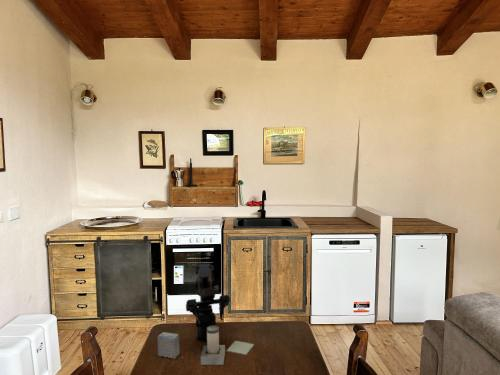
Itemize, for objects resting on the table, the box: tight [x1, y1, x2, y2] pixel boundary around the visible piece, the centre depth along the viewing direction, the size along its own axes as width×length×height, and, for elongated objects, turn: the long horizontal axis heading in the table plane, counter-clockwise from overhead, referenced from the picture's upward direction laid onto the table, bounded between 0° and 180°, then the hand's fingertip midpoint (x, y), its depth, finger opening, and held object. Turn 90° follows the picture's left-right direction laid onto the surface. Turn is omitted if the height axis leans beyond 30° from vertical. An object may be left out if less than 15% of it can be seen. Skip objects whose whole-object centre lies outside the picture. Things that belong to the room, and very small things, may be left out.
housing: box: [200, 344, 226, 366], centre depth 147 cm, size 9×9×4 cm
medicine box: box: [157, 331, 180, 359], centre depth 150 cm, size 8×4×9 cm, turn 71°
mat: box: [226, 340, 255, 356], centre depth 155 cm, size 9×9×1 cm
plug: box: [206, 324, 220, 354], centre depth 147 cm, size 5×5×13 cm
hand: (211, 321), depth 151 cm, fingers open, 9 cm apart
